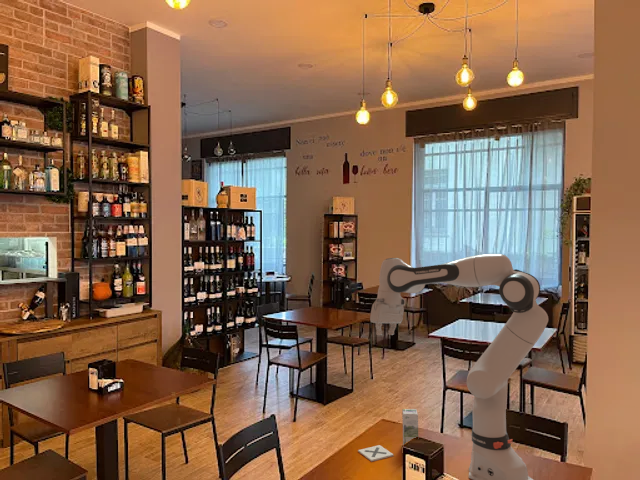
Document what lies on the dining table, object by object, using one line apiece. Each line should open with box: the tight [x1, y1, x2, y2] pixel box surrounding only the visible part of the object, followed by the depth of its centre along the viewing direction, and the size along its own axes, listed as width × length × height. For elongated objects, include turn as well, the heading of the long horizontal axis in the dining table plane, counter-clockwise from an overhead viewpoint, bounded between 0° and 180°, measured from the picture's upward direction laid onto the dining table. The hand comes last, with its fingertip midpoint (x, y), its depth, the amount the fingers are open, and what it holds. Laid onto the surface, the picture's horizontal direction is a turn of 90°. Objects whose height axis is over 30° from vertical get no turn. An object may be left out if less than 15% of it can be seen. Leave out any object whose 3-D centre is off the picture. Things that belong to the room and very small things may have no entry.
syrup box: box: [402, 408, 419, 445], centre depth 193 cm, size 6×6×14 cm
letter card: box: [357, 444, 395, 463], centre depth 189 cm, size 10×10×1 cm
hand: (385, 335), depth 190 cm, fingers open, 8 cm apart
